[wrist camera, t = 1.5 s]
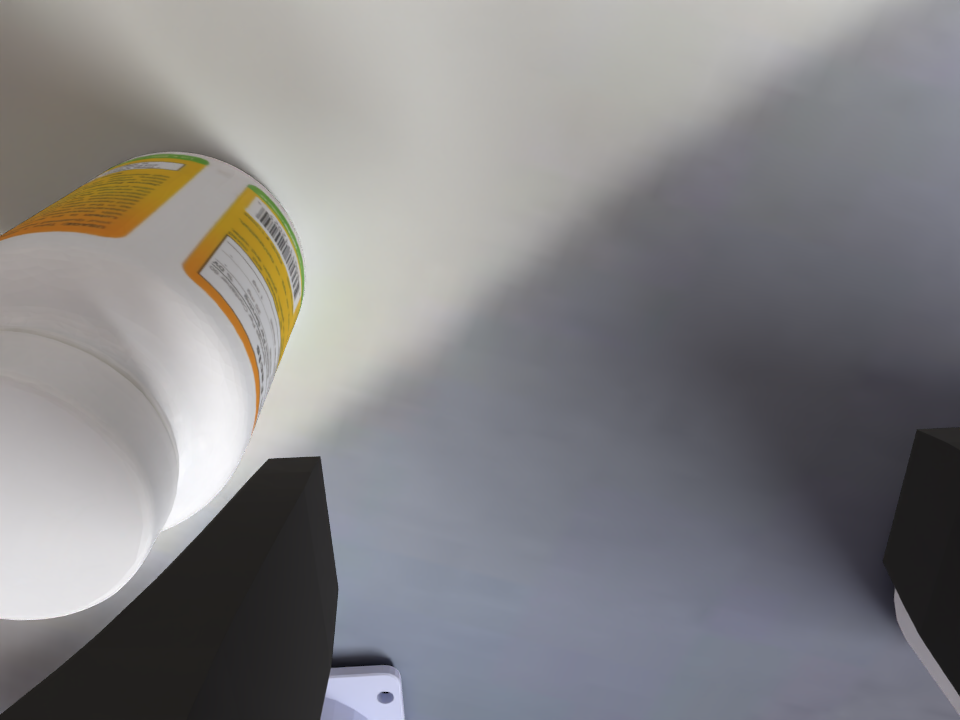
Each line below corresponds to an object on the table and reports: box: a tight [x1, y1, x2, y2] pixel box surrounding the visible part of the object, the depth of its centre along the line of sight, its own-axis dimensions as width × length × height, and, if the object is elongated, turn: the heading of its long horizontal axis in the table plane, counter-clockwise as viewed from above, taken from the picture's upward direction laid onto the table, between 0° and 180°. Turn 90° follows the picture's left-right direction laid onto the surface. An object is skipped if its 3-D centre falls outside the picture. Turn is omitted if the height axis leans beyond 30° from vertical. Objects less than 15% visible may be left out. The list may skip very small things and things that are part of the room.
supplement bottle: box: [0, 152, 306, 620], centre depth 15 cm, size 5×5×10 cm
